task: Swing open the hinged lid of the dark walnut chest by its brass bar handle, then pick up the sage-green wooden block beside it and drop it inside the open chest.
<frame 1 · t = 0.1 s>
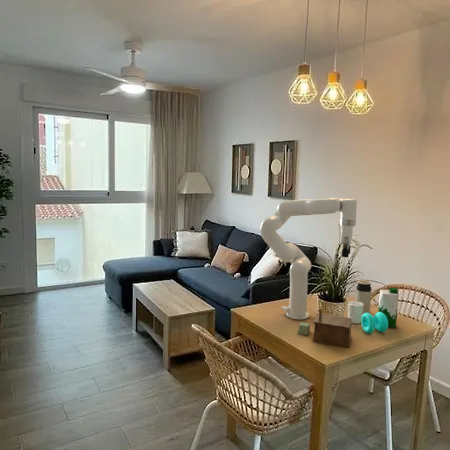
hand: (345, 255, 202), 37 cm above the table, tool pointing down, fingers open, 9 cm apart
white cup: (354, 321, 210), on the table
milk carton: (386, 325, 205), on the table
turquoise yo-yo: (373, 332, 196), on the table
block: (304, 332, 193), on the table
travel mug: (362, 312, 224), on the table
lid: (332, 315, 185), point 12 cm above the table, hinge at 0.0°
chest: (332, 339, 186), on the table
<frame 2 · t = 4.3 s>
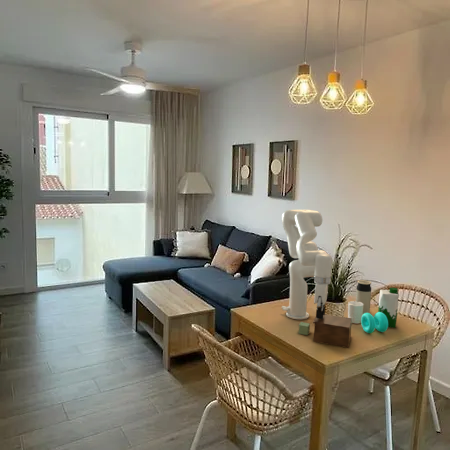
hand: (320, 315, 187), 11 cm above the table, tool pointing down, fingers closed on lid, 5 cm apart
lid: (332, 315, 185), point 12 cm above the table, hinge at 0.0°, touching gripper
everything else where it was.
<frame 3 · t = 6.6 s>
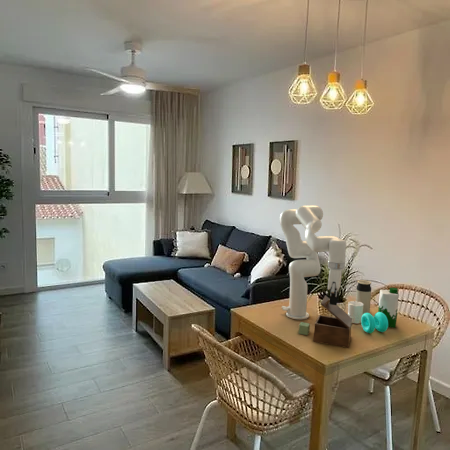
hand: (334, 302, 184), 18 cm above the table, tool pointing down, fingers closed on lid, 5 cm apart
lid: (340, 307, 183), point 16 cm above the table, hinge at 36.7°, touching gripper
everything else where it was.
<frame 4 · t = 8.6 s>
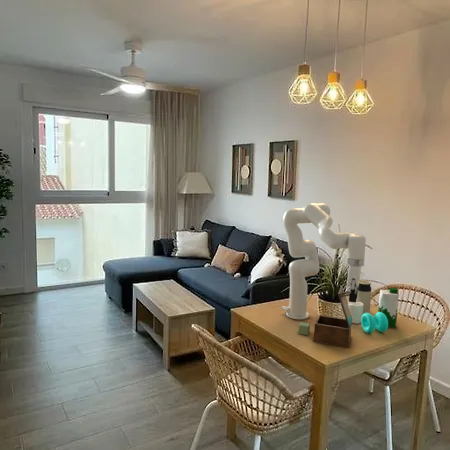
hand: (353, 299, 180), 21 cm above the table, tool pointing down, fingers closed on lid, 5 cm apart
lid: (351, 305, 181), point 18 cm above the table, hinge at 70.1°, touching gripper
everything else where it was.
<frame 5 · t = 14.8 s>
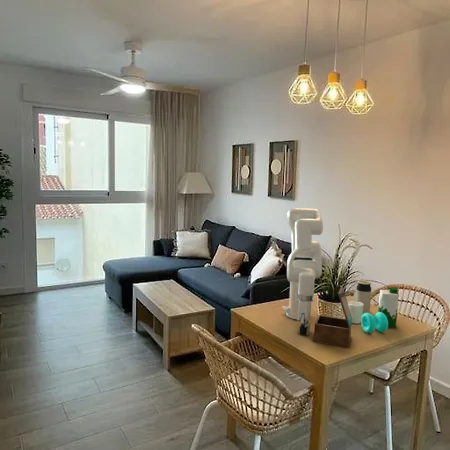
hand: (304, 332, 193), 0 cm above the table, tool pointing down, fingers closed on block, 4 cm apart
block: (304, 332, 193), on the table, touching gripper
lid: (351, 305, 181), point 18 cm above the table, hinge at 70.5°
everything else where it was.
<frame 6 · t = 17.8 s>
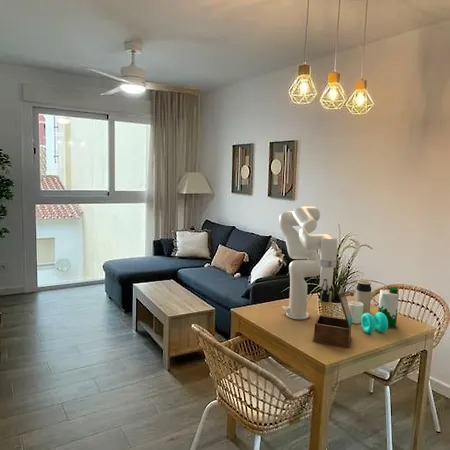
hand: (325, 300, 185), 19 cm above the table, tool pointing down, fingers closed on block, 4 cm apart
block: (325, 300, 185), point 19 cm above the table, touching gripper
everything else where it was.
when the fingers open (8 cm above the table, at t = 20.8 s): block drops 7 cm, resting on chest.
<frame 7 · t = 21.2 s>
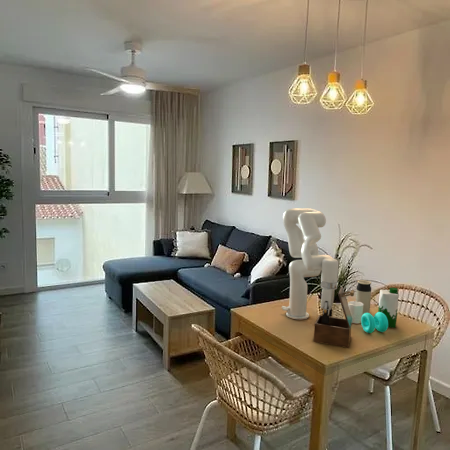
hand: (326, 319, 186), 9 cm above the table, tool pointing down, fingers open, 8 cm apart
block: (326, 336, 187), point 1 cm above the table, touching chest
everything else where it was.
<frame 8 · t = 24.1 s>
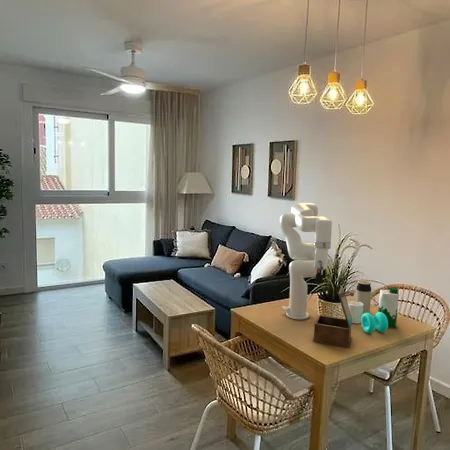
hand: (320, 280, 185), 28 cm above the table, tool pointing down, fingers open, 9 cm apart
nothing on the table moved.
at the end: lid at +70° (first picture: +0°); block inside the target area in the chest (3.0 cm from its centre), point 0.8 cm above the chest's base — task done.
